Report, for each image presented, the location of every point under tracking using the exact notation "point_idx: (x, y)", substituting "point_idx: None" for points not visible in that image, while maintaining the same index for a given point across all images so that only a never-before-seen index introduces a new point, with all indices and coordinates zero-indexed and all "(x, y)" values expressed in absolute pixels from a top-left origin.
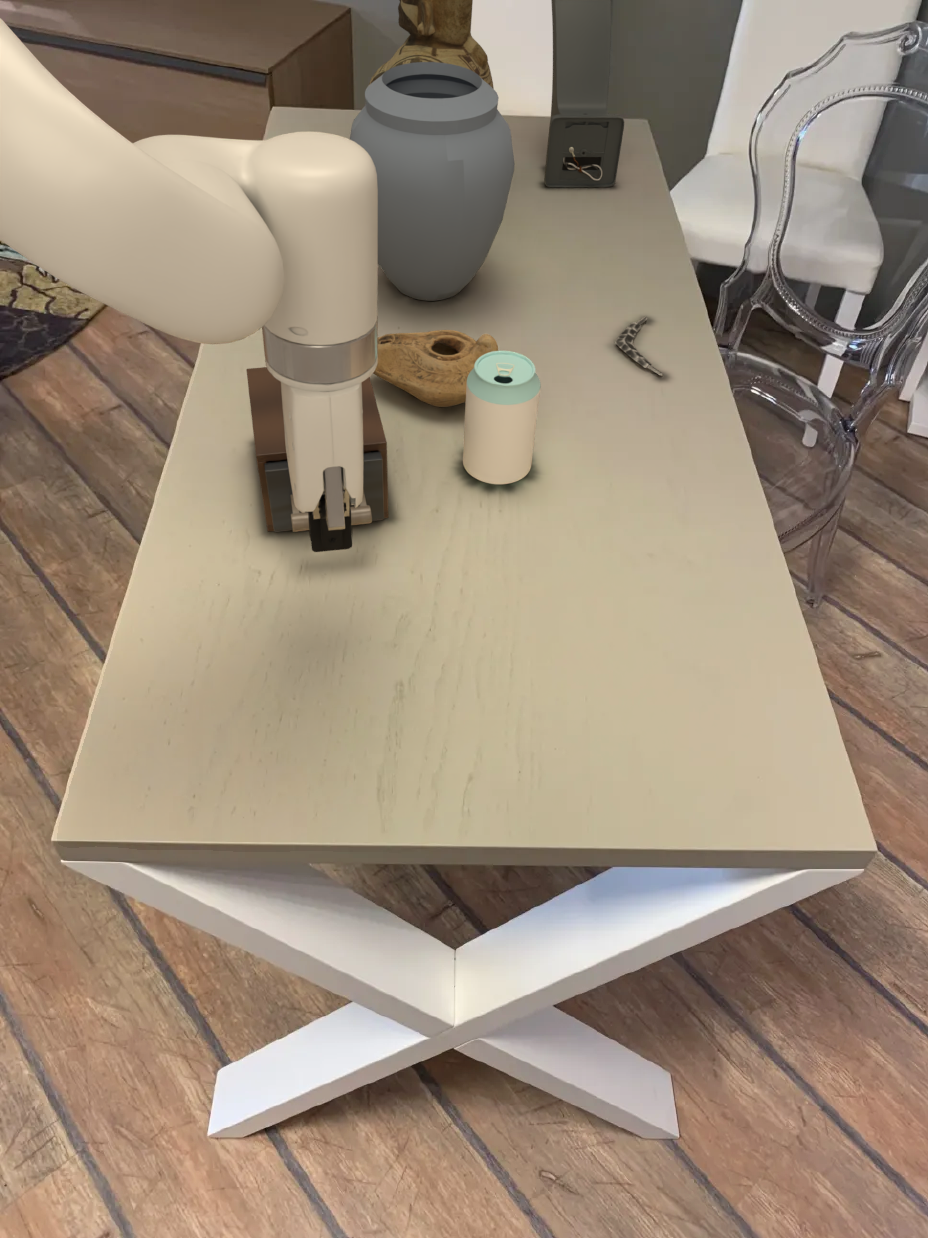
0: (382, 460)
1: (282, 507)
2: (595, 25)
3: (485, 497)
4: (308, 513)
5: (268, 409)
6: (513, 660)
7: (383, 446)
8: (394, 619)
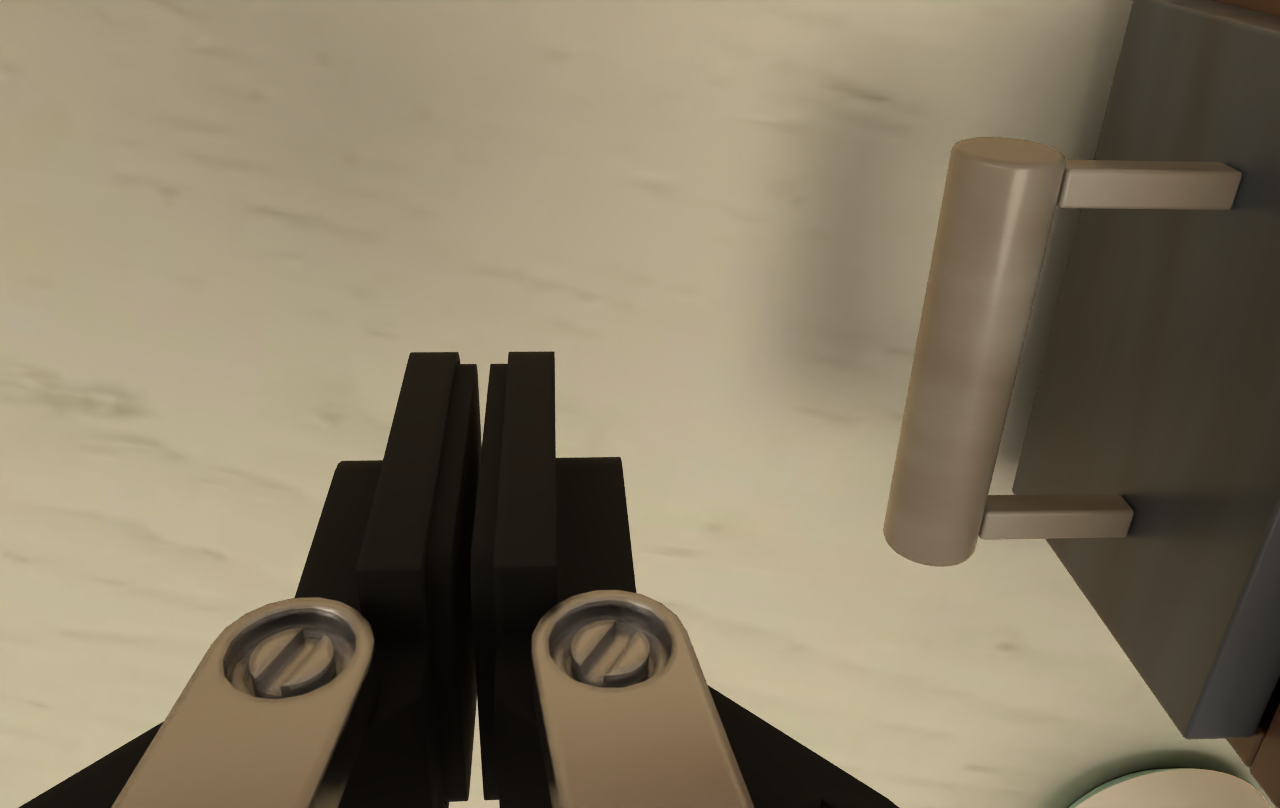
0: None
1: (1207, 92)
2: None
3: (1010, 785)
4: (500, 506)
5: None
6: None
7: (1267, 774)
8: None
